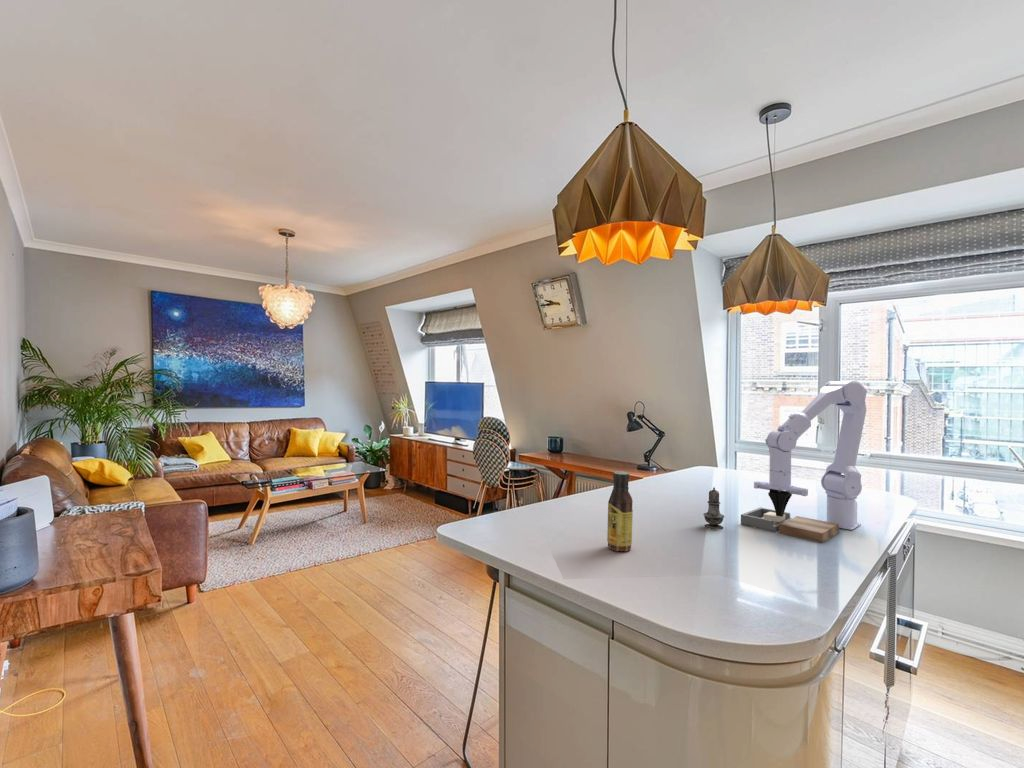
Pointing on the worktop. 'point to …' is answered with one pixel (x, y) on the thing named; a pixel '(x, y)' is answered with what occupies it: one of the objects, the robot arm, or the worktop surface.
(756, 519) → the tray
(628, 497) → the sauce bottle
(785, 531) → the walnut board
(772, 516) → the cream tile
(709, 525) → the salt shaker
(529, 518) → the worktop surface
